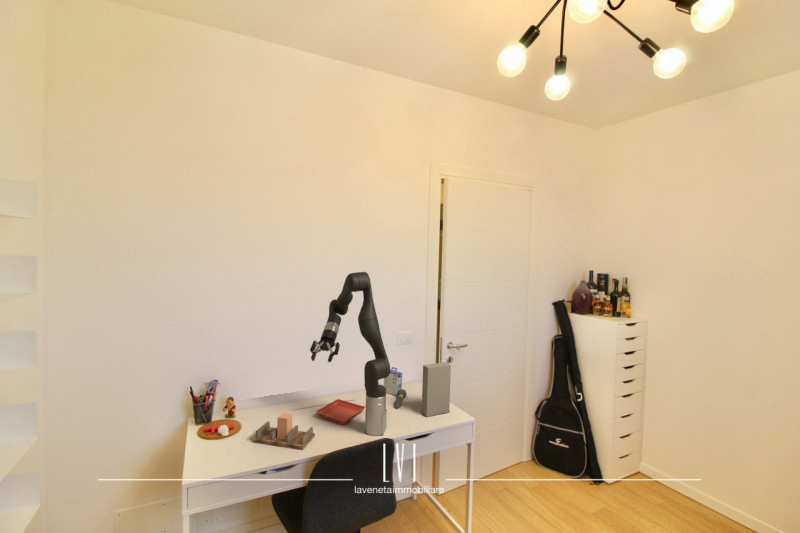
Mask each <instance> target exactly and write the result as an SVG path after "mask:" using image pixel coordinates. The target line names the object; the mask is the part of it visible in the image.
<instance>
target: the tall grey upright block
mask: <svg viewBox="0 0 800 533" xmlns="http://www.w3.org/2000/svg"><path fill="white" fill-rule="evenodd" d="M451 367H452V365H451V364H450V363H448V362H446V361H445V362H438V363H437V362H436V363H430V364H429V363H428V364H423V365H422V390H421V393H422V394H421V409H420V413H421V414H422V415H424V416H425V417H426V418H428V417H432V416H437V415H442V414H448V413H450V411H451V410H450V405H451V403H450V402H451V372H452V368H451Z"/></svg>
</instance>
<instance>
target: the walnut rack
mask: <svg viewBox="0 0 800 533" xmlns="http://www.w3.org/2000/svg"><path fill="white" fill-rule="evenodd" d="M270 422H271V421H266V422H265V423H264V424H262V425H261V426H260V427H259V428H258V429H256V430H255V437H254V438H253V439H252V441H253V443H254V444H261V445H267V446H274V447H278V448H279V447H280V448H287V449H291V450H292V449H294V450H300V451H301V450H302V451H304V449H306V447H307V446H308V445H309V444H310V443H311V442H312V441H313V439H314V438H315V436H316V434H315V432H314V428H313V427H312V426H311V427H309V428H308V430H307V431H304V430H303V431H302V430H299V425H298V424H296V425H294V426H293V427H292V430H291V431H290V432H289V433H288V434H287V435H286V439H280V438H277V427H273V426H271V424H270Z"/></svg>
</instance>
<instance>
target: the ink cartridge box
mask: <svg viewBox="0 0 800 533" xmlns="http://www.w3.org/2000/svg"><path fill="white" fill-rule="evenodd" d="M397 370H398V368H397V367H394V366H392V367H391V368H390V374H389V376H388V377H386V378H383V386H384V387H385V388H386V394H389V395H393V396H397V397H398V391H399V390H401V389H402V388H403V387H402V386H403V372H400V371H397Z"/></svg>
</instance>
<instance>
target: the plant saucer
mask: <svg viewBox="0 0 800 533" xmlns="http://www.w3.org/2000/svg"><path fill="white" fill-rule="evenodd" d="M365 409H366V406H364V405H360V404H356V403H354V402H349V401H347V400H343V399H339V398H338V399H335V400H333V401H332V402H330V403H328V404H327V405H324V406H323V407H321V408H319V409H318V410H316V411H315V413H316V414H317V415H318V416H319V417H320V418H323V419H326V420H328V421H331V422H334V423H338V424H341V425H345V424H347V423H348V422H349V421H352V420H353V419H354V418H356V417H357V416H358V415H360V414H361V413H362V412H363V411H364V410H365Z"/></svg>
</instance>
